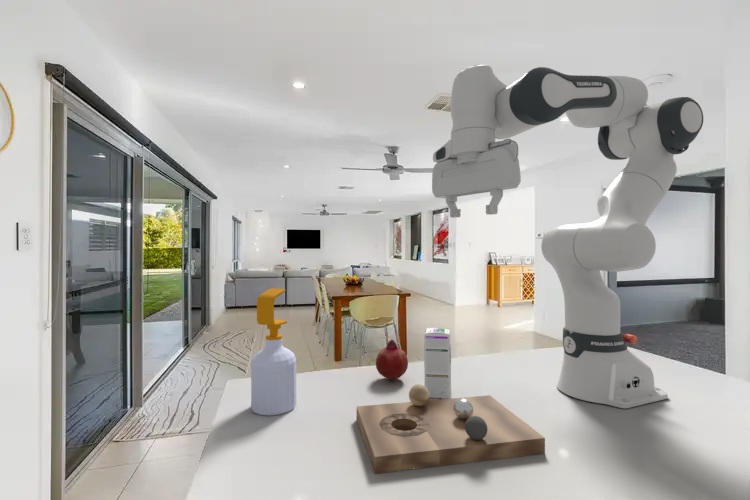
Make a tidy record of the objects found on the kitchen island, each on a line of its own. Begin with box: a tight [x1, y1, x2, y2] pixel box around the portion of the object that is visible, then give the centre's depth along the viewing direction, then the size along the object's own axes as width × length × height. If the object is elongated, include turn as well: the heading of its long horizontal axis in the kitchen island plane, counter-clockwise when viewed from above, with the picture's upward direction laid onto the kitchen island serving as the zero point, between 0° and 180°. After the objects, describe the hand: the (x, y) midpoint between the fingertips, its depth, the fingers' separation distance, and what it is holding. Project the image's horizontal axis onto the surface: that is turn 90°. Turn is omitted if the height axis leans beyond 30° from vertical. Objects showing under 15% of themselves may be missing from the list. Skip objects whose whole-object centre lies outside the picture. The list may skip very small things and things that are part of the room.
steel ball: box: [453, 399, 473, 420], centre depth 68 cm, size 4×4×4 cm
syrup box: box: [423, 327, 452, 399], centre depth 86 cm, size 6×6×14 cm
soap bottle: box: [250, 287, 297, 416], centre depth 79 cm, size 9×9×25 cm
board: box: [356, 394, 546, 475], centre depth 67 cm, size 28×18×2 cm, turn 101°
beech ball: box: [408, 384, 431, 406], centre depth 74 cm, size 4×4×4 cm
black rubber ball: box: [465, 416, 487, 440], centre depth 61 cm, size 4×4×4 cm
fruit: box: [375, 339, 409, 381], centre depth 95 cm, size 8×8×10 cm
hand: (472, 215), depth 78 cm, fingers open, 8 cm apart
